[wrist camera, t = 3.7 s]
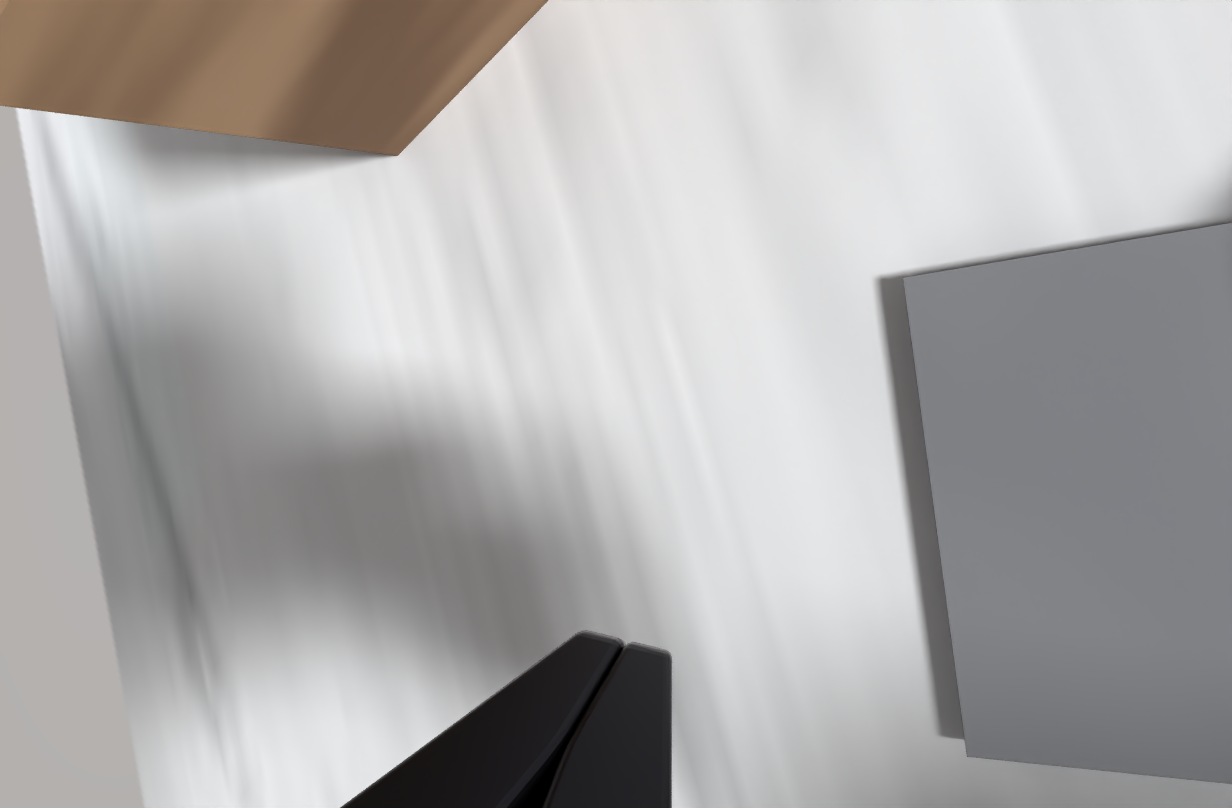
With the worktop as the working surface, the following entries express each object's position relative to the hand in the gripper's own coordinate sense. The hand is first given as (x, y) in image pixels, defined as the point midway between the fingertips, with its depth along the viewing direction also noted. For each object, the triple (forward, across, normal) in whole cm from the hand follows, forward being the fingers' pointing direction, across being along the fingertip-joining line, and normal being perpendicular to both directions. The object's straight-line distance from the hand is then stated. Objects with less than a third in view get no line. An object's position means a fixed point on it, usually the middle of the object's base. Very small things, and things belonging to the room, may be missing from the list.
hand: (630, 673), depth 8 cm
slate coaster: (+9, -7, +3) cm, 12 cm away
